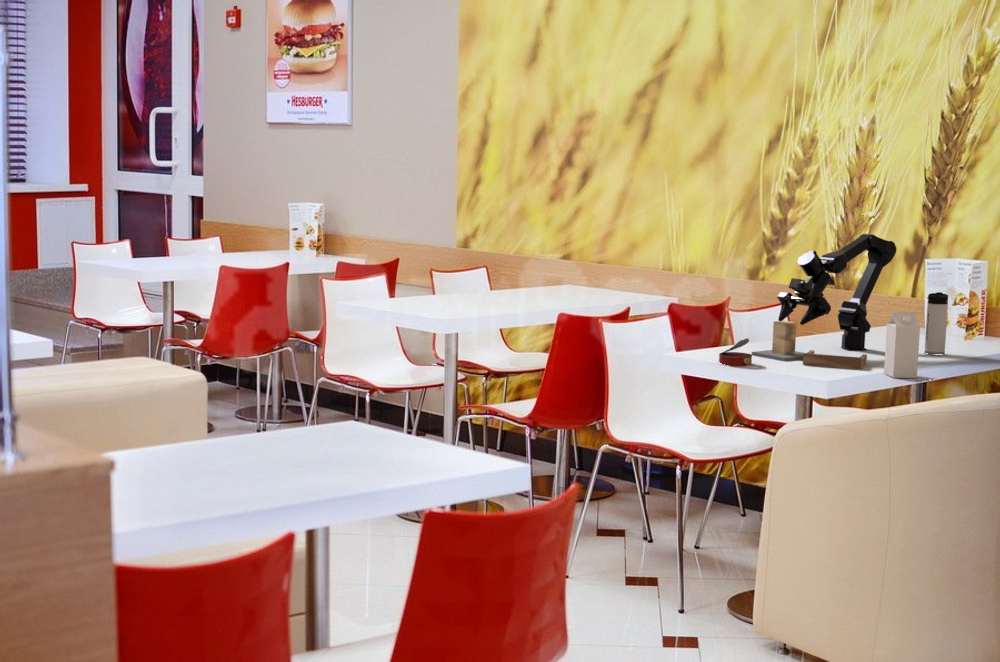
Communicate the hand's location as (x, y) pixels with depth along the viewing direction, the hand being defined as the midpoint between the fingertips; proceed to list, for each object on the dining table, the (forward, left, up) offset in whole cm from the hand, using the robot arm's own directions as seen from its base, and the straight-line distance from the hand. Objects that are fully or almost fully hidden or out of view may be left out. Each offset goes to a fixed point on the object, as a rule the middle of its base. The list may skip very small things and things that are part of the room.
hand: (790, 322), depth 407 cm
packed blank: (+2, +1, -10) cm, 10 cm away
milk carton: (-20, +38, -11) cm, 45 cm away
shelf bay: (-8, +17, -11) cm, 22 cm away
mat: (+2, +1, -11) cm, 11 cm away
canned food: (+22, +14, -11) cm, 29 cm away
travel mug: (-51, -3, -11) cm, 52 cm away
